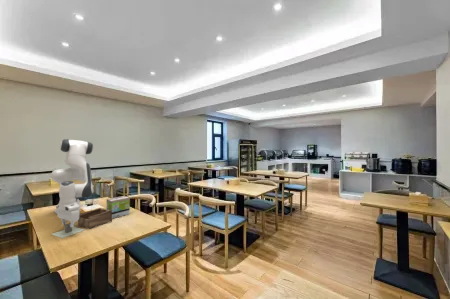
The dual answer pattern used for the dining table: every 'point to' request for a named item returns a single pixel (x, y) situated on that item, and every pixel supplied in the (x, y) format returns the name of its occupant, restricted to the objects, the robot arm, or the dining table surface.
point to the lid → (67, 231)
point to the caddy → (95, 218)
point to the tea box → (119, 206)
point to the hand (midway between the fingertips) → (68, 225)
